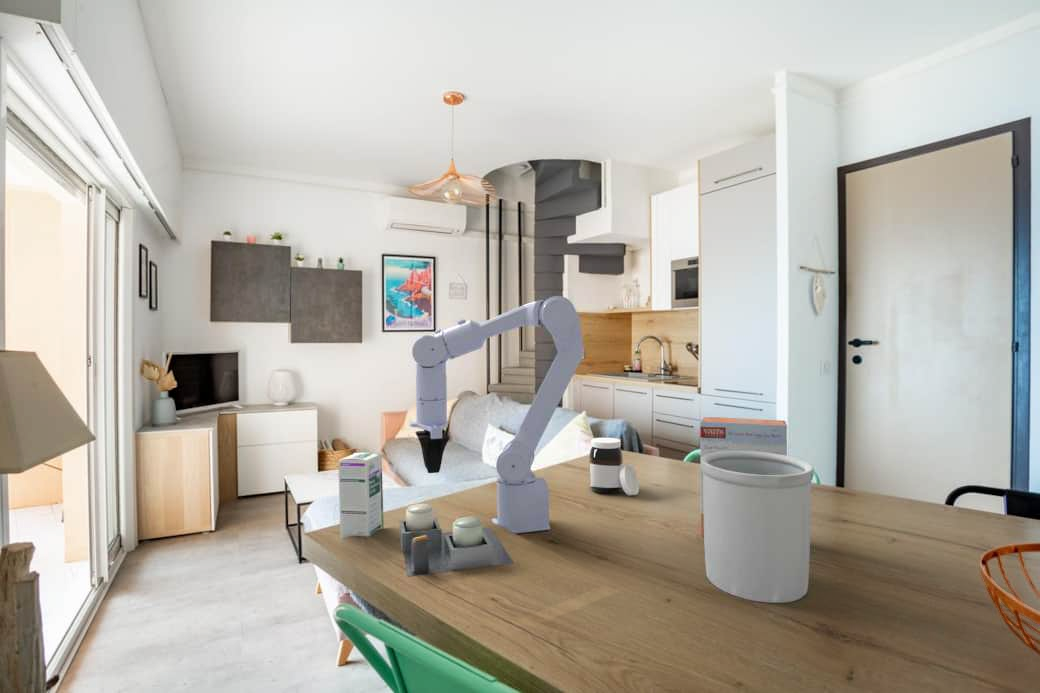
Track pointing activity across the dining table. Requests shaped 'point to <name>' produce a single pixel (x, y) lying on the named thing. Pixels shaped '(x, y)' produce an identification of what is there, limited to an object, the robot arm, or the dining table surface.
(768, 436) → the cracker box
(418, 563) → the dial post
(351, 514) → the syrup box
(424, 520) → the knob cream
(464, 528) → the knob sage
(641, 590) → the dining table surface
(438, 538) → the mount panel
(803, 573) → the utensil holder
